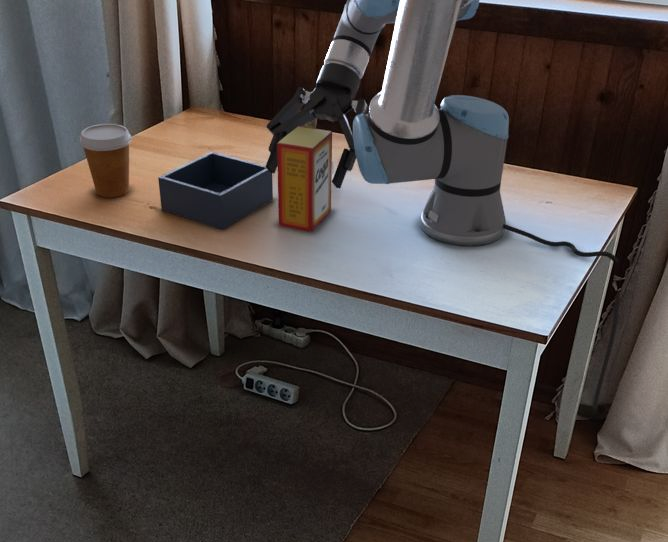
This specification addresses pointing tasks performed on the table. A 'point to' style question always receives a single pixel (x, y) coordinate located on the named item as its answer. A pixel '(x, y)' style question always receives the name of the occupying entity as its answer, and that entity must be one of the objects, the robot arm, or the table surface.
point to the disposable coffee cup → (108, 158)
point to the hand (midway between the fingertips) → (302, 177)
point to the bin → (216, 189)
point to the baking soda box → (304, 178)
